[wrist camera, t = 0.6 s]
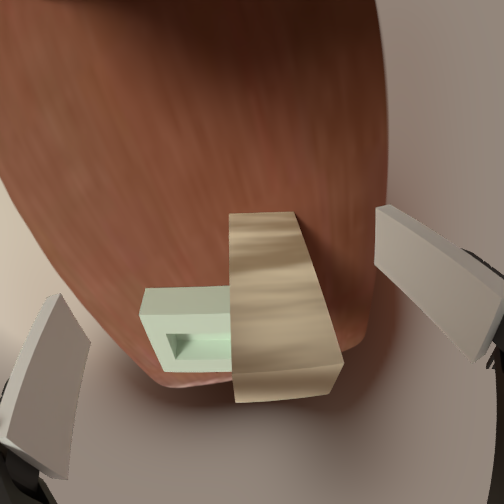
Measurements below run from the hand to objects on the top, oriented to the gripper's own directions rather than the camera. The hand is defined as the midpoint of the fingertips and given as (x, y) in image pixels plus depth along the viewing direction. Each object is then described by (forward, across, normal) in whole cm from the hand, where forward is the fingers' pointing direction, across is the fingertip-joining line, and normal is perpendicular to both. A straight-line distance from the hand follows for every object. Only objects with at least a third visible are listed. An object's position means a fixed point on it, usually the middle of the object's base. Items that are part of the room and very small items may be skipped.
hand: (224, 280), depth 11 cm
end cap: (+19, -4, -18) cm, 26 cm away
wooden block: (+16, +4, -6) cm, 18 cm away
